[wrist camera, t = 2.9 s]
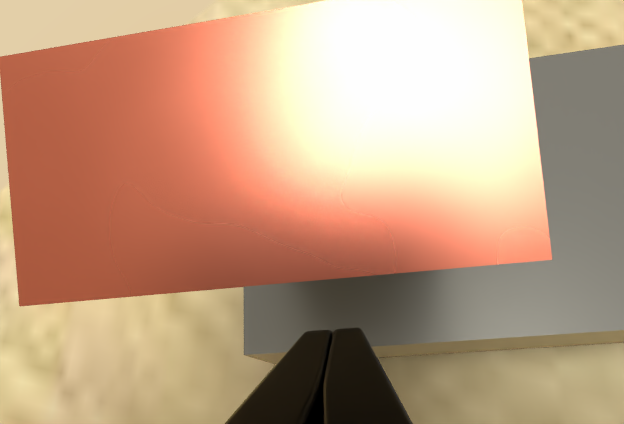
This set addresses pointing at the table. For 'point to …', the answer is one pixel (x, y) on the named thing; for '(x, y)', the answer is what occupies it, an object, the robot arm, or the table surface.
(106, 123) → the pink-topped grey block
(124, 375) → the table surface
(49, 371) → the table surface
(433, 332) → the switch box
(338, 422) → the robot arm
